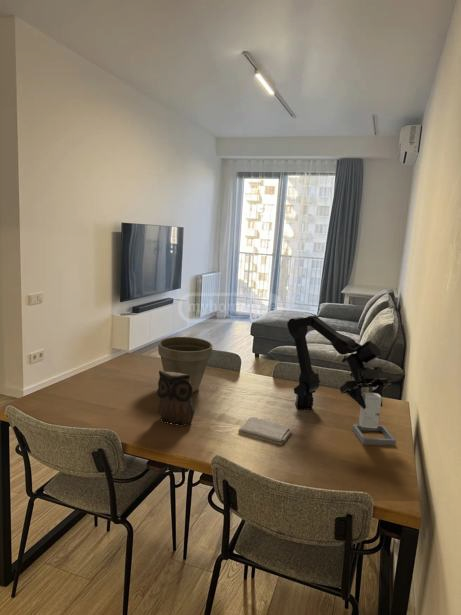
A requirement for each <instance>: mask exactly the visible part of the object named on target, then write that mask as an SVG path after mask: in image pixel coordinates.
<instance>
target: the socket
mask: <svg viewBox="0 0 461 615" xmlns="http://www.w3.org/2000/svg"><path fill="white" fill-rule="evenodd" d="M351 429H352V431H353V432H354V433H355V435H356V436H357V437H358V439H359V441H360V443H361V444H362V445H371V446H372V445H373V446H396V444H397V443H396V442H397V440H396V439H395V437H393V435H392V434H391V433H390V431H389V430H388V429H387V428H386V427H385V426H384V425H383V424H380V425H379V424H378V428H367V427H361V426H360V423H359V424H356V423H355V424H354V423H353V424H352V427H351ZM362 431H366V432H367V431H368V432H369V431H370V432H380V433H382V435H383V436H384V438H378V437H377V438H374V437H373V438H372V437H371V438H370V437H369V438H368V437H365V436H364V434H363V433H362Z"/></svg>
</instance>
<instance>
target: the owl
mask: <svg viewBox="0 0 461 615" xmlns="http://www.w3.org/2000/svg"><path fill="white" fill-rule="evenodd" d="M158 375H159V379H158V382H157V386H158V388H157V396H158V399H159V401H158V409H157V411H158V413H159V415H160V419H162V421H163V422H166V423H167V422H168V423H172V424H178V425H184V424H191V423H193V419H194V415H195V408H194V403H193V400H192V397H193V393H194V392H193V390H192V386H191V382H190V379H189V378H190V375H187V374H182V373H176V372H164V370H163V371H162V370H159V371H158ZM163 422H162V423H163ZM191 425H192V424H191ZM184 426H185V425H184Z"/></svg>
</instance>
